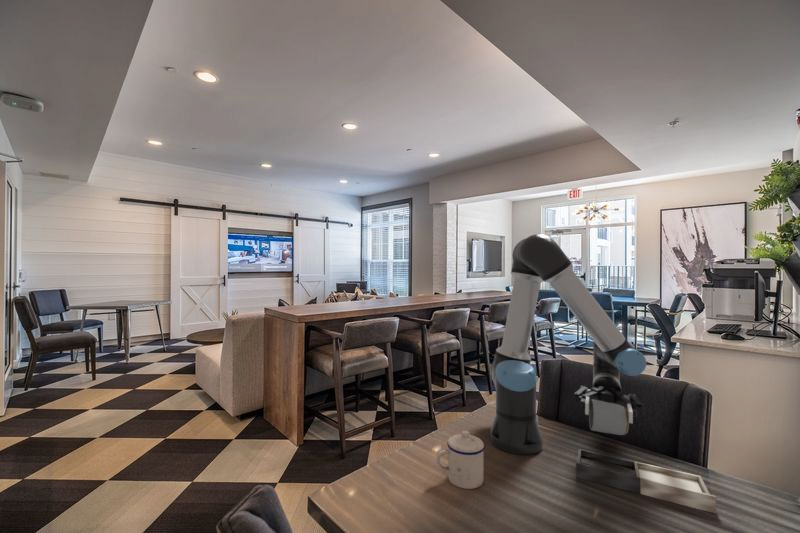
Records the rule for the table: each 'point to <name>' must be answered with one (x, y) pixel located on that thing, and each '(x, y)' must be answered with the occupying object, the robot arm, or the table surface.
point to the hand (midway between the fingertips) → (608, 413)
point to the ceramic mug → (608, 417)
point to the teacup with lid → (464, 460)
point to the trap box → (650, 481)
